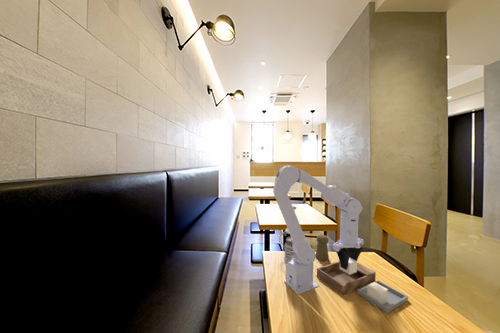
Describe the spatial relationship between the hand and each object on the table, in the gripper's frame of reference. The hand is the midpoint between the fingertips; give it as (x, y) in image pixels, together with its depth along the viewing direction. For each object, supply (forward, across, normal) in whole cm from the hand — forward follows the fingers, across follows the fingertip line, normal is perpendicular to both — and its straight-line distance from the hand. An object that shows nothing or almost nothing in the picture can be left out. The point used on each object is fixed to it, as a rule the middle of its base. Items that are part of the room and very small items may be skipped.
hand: (348, 266), depth 66 cm
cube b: (+1, 0, 0) cm, 1 cm away
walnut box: (+7, +2, +2) cm, 8 cm away
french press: (+7, -8, +22) cm, 25 cm away
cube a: (+6, +2, -9) cm, 11 cm away
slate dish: (+7, +4, -9) cm, 12 cm away
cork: (+7, +6, +18) cm, 20 cm away
